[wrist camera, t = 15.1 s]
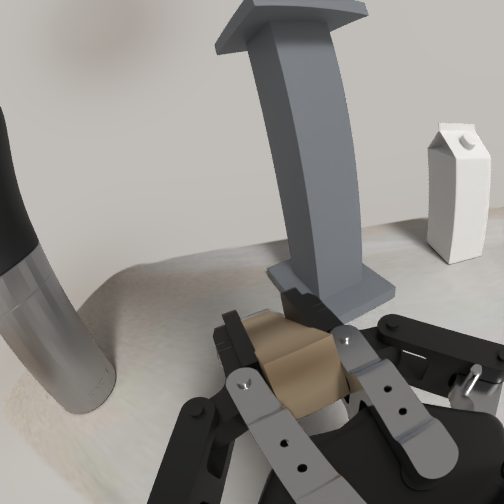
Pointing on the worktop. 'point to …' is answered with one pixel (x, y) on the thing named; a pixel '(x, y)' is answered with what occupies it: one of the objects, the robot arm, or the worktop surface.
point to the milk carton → (458, 192)
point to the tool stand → (310, 146)
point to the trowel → (296, 362)
